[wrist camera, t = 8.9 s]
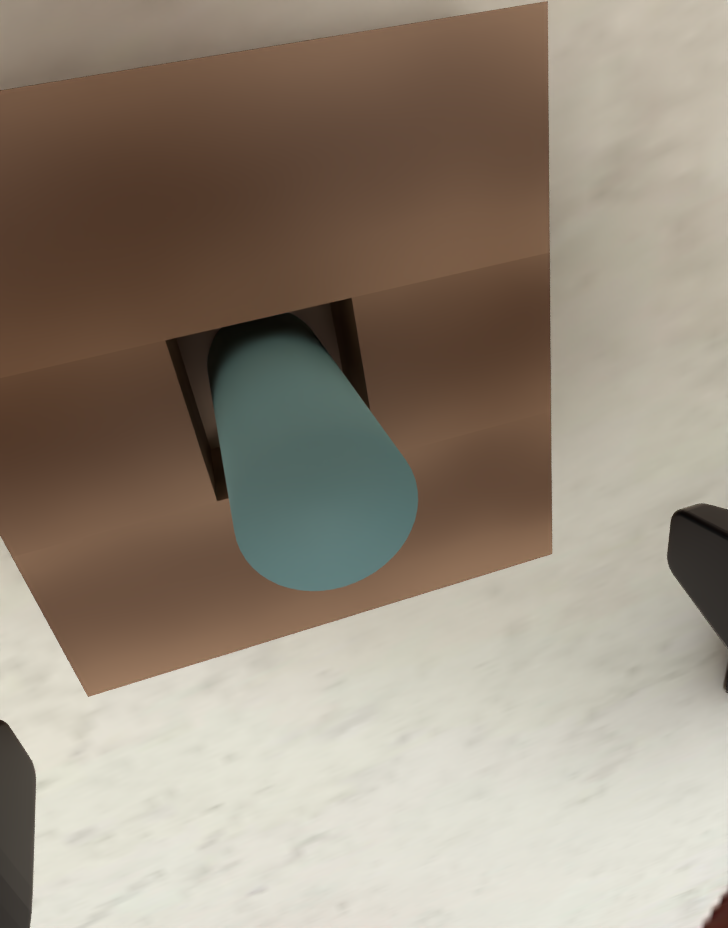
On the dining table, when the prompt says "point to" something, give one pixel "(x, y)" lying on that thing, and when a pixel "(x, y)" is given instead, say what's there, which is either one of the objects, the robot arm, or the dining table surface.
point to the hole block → (263, 295)
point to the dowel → (304, 459)
